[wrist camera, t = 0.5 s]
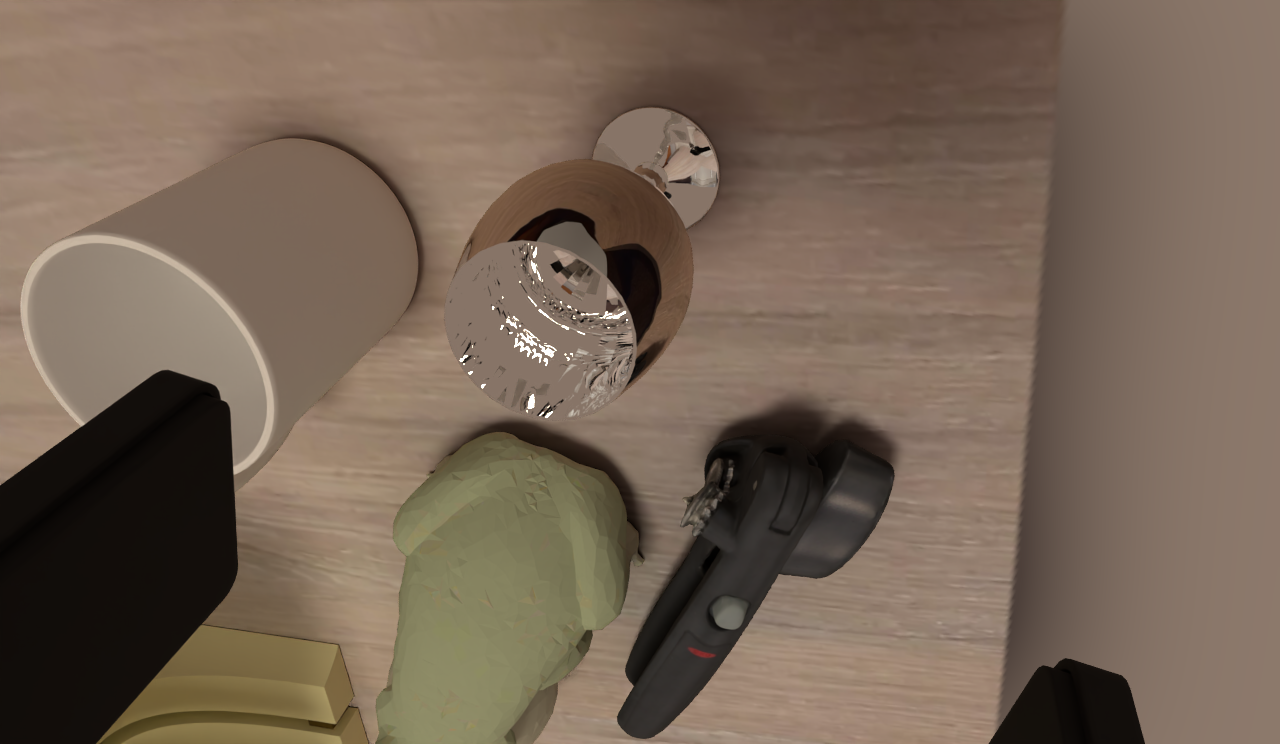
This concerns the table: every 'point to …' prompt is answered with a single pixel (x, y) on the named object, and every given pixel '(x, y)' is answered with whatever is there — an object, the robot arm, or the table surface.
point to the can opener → (748, 558)
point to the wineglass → (584, 269)
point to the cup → (228, 290)
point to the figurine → (500, 591)
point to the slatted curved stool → (244, 694)
